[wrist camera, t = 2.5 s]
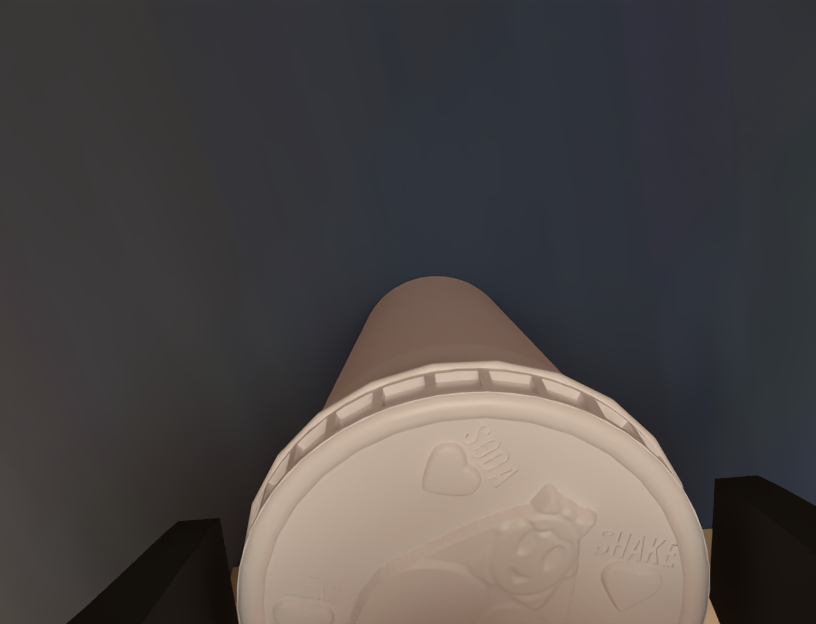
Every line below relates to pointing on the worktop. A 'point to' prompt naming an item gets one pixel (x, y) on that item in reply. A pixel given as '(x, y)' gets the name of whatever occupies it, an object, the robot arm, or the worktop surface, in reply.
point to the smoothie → (468, 489)
